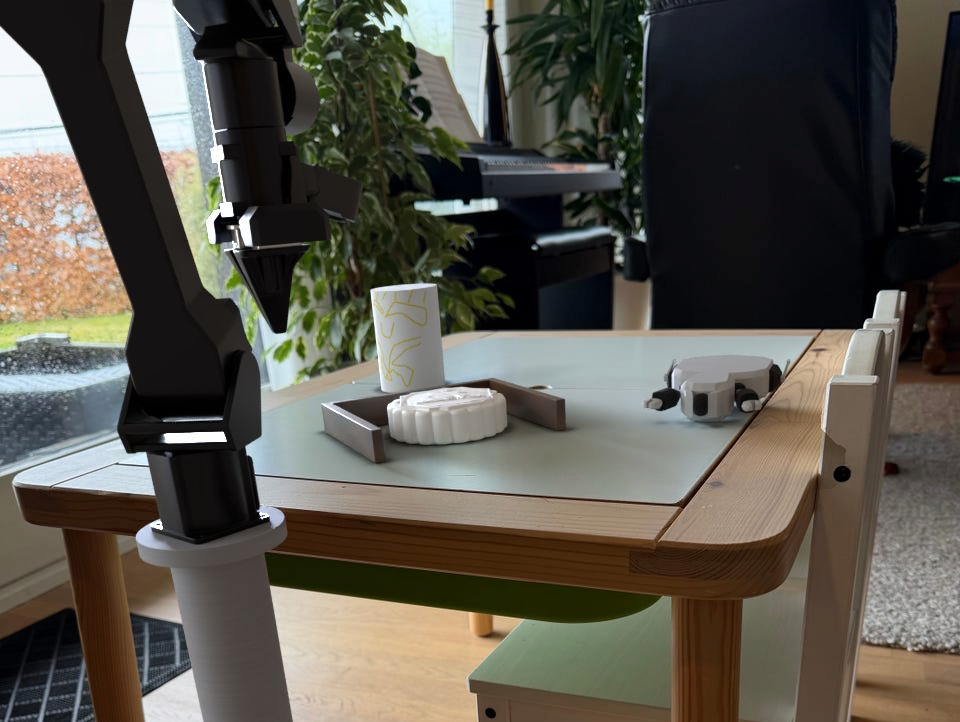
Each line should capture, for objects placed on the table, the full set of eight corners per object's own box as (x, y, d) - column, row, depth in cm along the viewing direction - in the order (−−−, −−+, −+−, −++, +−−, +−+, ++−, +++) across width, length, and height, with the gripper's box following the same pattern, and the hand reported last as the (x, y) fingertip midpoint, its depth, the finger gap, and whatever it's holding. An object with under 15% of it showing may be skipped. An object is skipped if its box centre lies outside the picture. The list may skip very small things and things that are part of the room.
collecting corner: (566, 429, 97) (565, 398, 96) (375, 463, 90) (371, 430, 89) (495, 404, 111) (493, 377, 109) (324, 432, 104) (320, 403, 102)
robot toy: (764, 438, 91) (790, 394, 103) (765, 390, 89) (792, 350, 101) (636, 434, 96) (674, 392, 108) (635, 388, 94) (674, 351, 106)
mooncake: (490, 413, 106) (488, 379, 105) (521, 435, 96) (519, 398, 94) (381, 427, 104) (377, 392, 102) (401, 451, 93) (396, 413, 92)
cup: (370, 393, 123) (358, 292, 118) (399, 380, 130) (389, 284, 125) (429, 393, 120) (419, 289, 115) (455, 380, 127) (447, 282, 122)
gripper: (383, 115, 73) (404, 331, 80) (315, 135, 89) (337, 314, 95) (235, 121, 69) (270, 348, 76) (191, 141, 85) (223, 328, 92)
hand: (279, 333), depth 85 cm, fingers closed
